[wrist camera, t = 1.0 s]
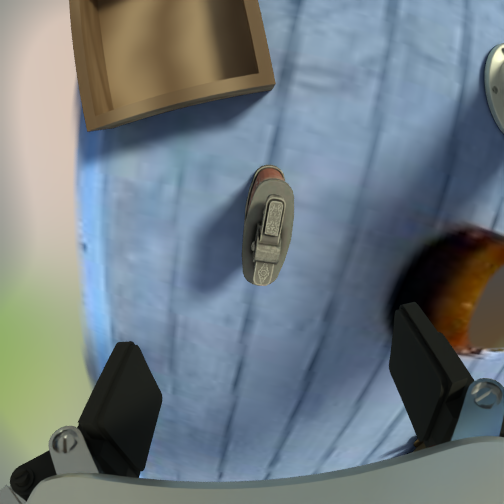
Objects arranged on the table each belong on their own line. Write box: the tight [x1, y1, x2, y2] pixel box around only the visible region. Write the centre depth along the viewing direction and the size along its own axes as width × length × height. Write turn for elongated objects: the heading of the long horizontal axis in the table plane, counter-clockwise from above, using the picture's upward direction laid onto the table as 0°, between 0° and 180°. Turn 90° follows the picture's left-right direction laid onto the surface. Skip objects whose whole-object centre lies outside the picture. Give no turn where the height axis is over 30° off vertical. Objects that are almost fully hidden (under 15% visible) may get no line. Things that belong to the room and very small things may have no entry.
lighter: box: [242, 165, 294, 286], centre depth 25 cm, size 8×3×10 cm, turn 171°
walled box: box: [69, 0, 275, 132], centre depth 21 cm, size 15×15×5 cm
